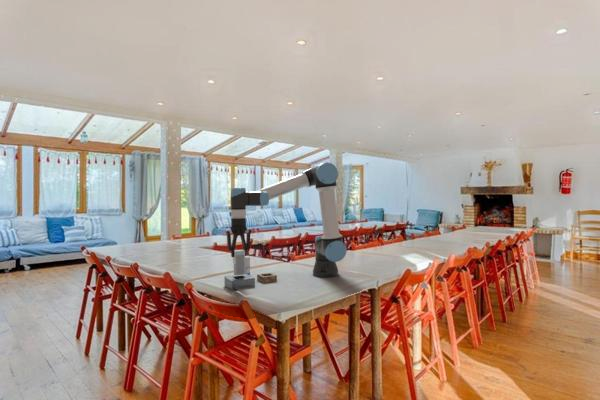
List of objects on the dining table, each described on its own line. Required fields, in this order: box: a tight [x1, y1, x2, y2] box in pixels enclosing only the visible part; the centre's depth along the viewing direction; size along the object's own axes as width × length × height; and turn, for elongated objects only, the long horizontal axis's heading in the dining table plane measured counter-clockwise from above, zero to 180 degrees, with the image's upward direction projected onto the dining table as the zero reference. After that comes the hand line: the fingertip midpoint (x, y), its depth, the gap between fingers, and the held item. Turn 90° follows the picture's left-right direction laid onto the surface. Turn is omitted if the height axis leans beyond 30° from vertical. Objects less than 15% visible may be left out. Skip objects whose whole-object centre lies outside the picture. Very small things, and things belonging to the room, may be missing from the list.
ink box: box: [233, 256, 251, 276], centre depth 201 cm, size 9×5×12 cm, turn 74°
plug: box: [233, 249, 244, 275], centre depth 179 cm, size 4×4×12 cm
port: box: [224, 274, 256, 292], centre depth 179 cm, size 12×12×5 cm
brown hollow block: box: [256, 272, 278, 284], centre depth 188 cm, size 8×8×4 cm
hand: (239, 262), depth 179 cm, fingers closed on plug, 4 cm apart
